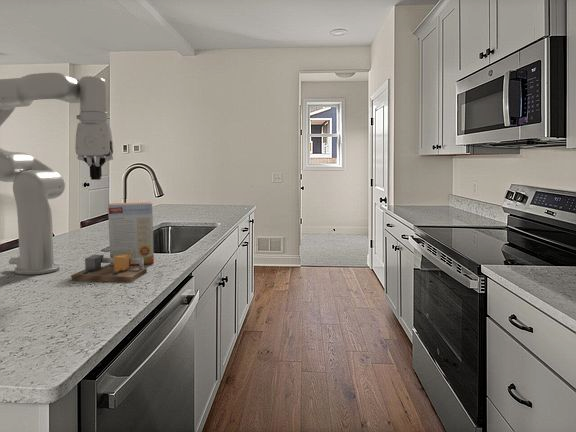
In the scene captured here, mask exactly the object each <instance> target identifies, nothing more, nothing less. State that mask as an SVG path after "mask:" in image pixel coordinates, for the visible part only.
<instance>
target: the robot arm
mask: <svg viewBox="0 0 576 432" xmlns="http://www.w3.org/2000/svg"><path fill="white" fill-rule="evenodd" d="M107 99H108V97H107V81H106V79H104V78H102V77H99V76H88V75H84V76H82V77H81V78H80V79H79V78H76V77H72V76H69V75H67V74H63V73H61V72H42V73H41V72H39V73H31V74H30V73H29V74H26V75H24V76H21V77H12V78H0V127H1V126H2V125H4V123H5V122H6V121H7V120H8V118H9V117H10V116H11V114H13V112H14V111H16V108H22V107H23V108H24V107H25V108H26V107H28V106H29V107H30V105H31V104H32V103H33V101H38V100H39V101H40V100H41V101H42V100H58V101H62V102H66V103H71V104H79V108H80V109H79V110H80V112H79V114H77V115H76V119H77V120H79V122H78V123H77V127H76V130H75V131H76V133H75V145H74V146H75V147H74V149H75V154H76V155H77V160H79V161H83V162H84V163H86V164H87V166H88V167H89V177H90V180H91V181H93V180H96V181H97V180H98V181H99V180H100V181H101V179H102V167H103V166H104V165H105V163H106V162H109V161H112V160H113V159H114V157H113V154H114V144H113V136H112V130H111V126H110V123H108V103H107V101H108V100H107ZM0 182H3V183H12V192H13V196H14V200H15V205H16V213H17V224H18V225H17V227H18V228H17V230H18V249H19V250H18V251H19V253H18V254H19V256H18V257H15V256H14V257H10V259H9V260H8V265H16V267H15V268H14V273H15V274H17V275H27V276H30V275H42V274H48V273H54V272H56V271H58V270H60V265H59V264H57V263H55V260H54V237H53V236H54V235H53V215H52V213H53V212H52V208H51V205H50V204H49V200H53V199H56V198H59V197H60V196H61V195H62V194H63V193H64V192H65V188H66V183H65V180H64V178H63V176H62V175H61V174H60V173H59V172H57V171H56V170H55V169H53V168H52V167H50V166H49V165H47V164H46V163H44V162H42V161H41V160H39V159H38V158H36V157H34V156H33V155H31V154H29V153H26V152H21V151H19V152H18V151H8V150H6V149H3V148H2V147H0Z"/></svg>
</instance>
